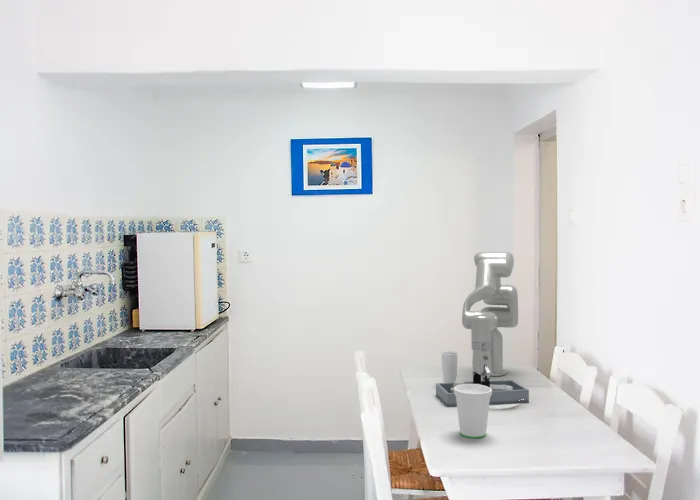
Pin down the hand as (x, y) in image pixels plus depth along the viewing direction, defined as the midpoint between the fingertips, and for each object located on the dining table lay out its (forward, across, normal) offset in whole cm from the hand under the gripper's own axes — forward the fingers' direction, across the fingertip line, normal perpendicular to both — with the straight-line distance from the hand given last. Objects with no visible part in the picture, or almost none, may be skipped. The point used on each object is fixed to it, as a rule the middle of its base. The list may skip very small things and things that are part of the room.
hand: (481, 387), depth 237 cm
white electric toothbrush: (+4, 0, 0) cm, 4 cm away
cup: (+4, -39, +17) cm, 43 cm away
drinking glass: (+5, +20, +7) cm, 21 cm away
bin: (+4, 0, 0) cm, 5 cm away
